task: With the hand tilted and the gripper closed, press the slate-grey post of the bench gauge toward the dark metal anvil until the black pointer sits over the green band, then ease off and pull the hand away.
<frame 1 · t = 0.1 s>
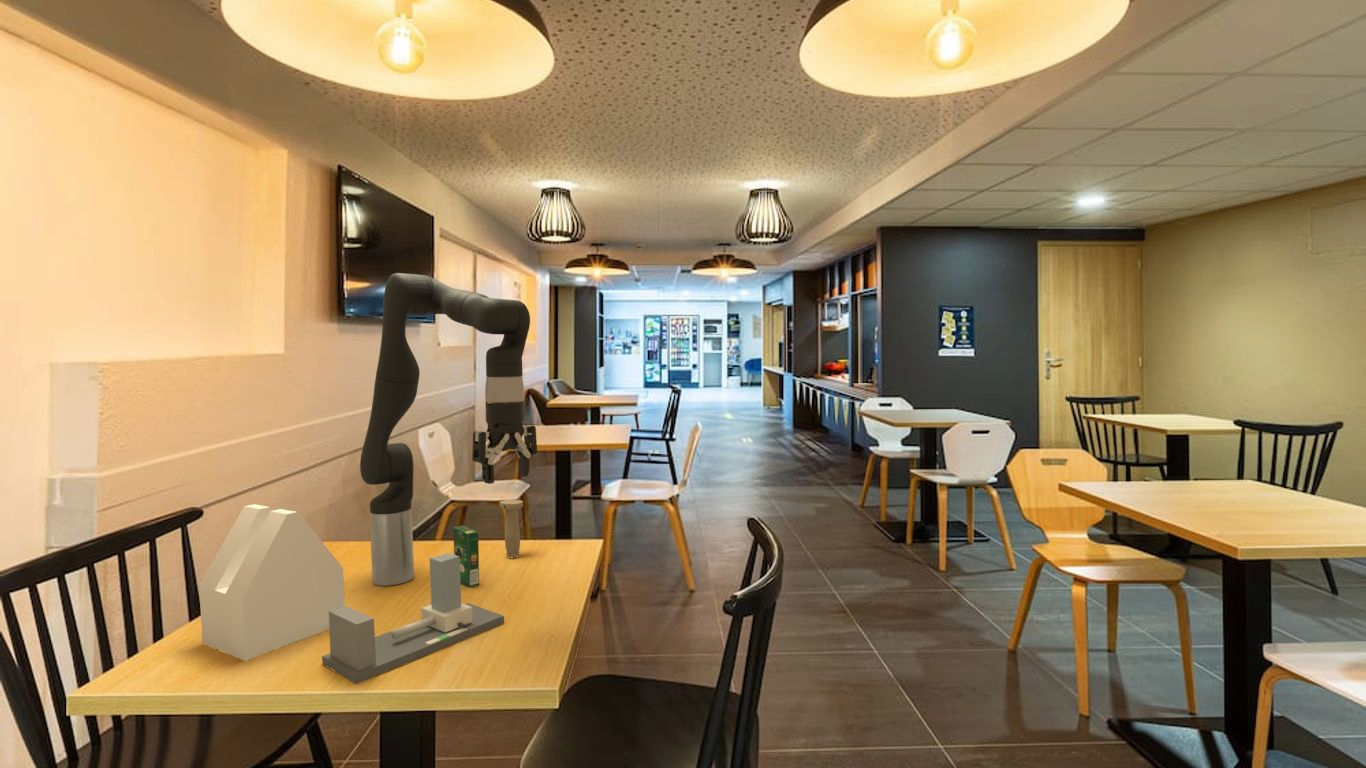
hand: (506, 479, 132), 29 cm above the table, tool pointing down, fingers open, 8 cm apart
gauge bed: (419, 642, 125), on the table
coffee box: (467, 583, 158), on the table
handle: (513, 557, 177), on the table
white house-shaped block: (276, 634, 131), on the table
gauge slider: (430, 597, 126), point 8 cm above the table, slide at 0.0 cm
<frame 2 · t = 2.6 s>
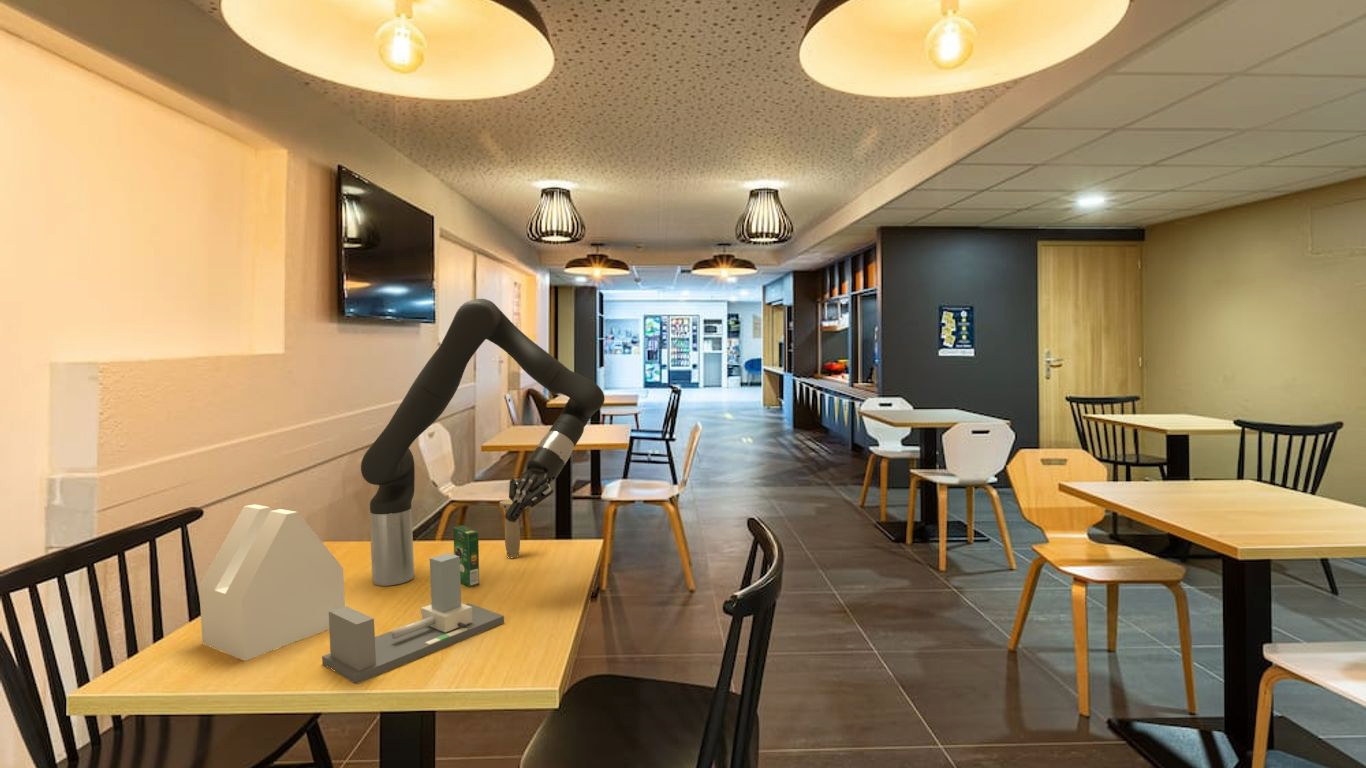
hand: (509, 519, 141), 19 cm above the table, tool tilted 45°, fingers closed
nothing on the table moved.
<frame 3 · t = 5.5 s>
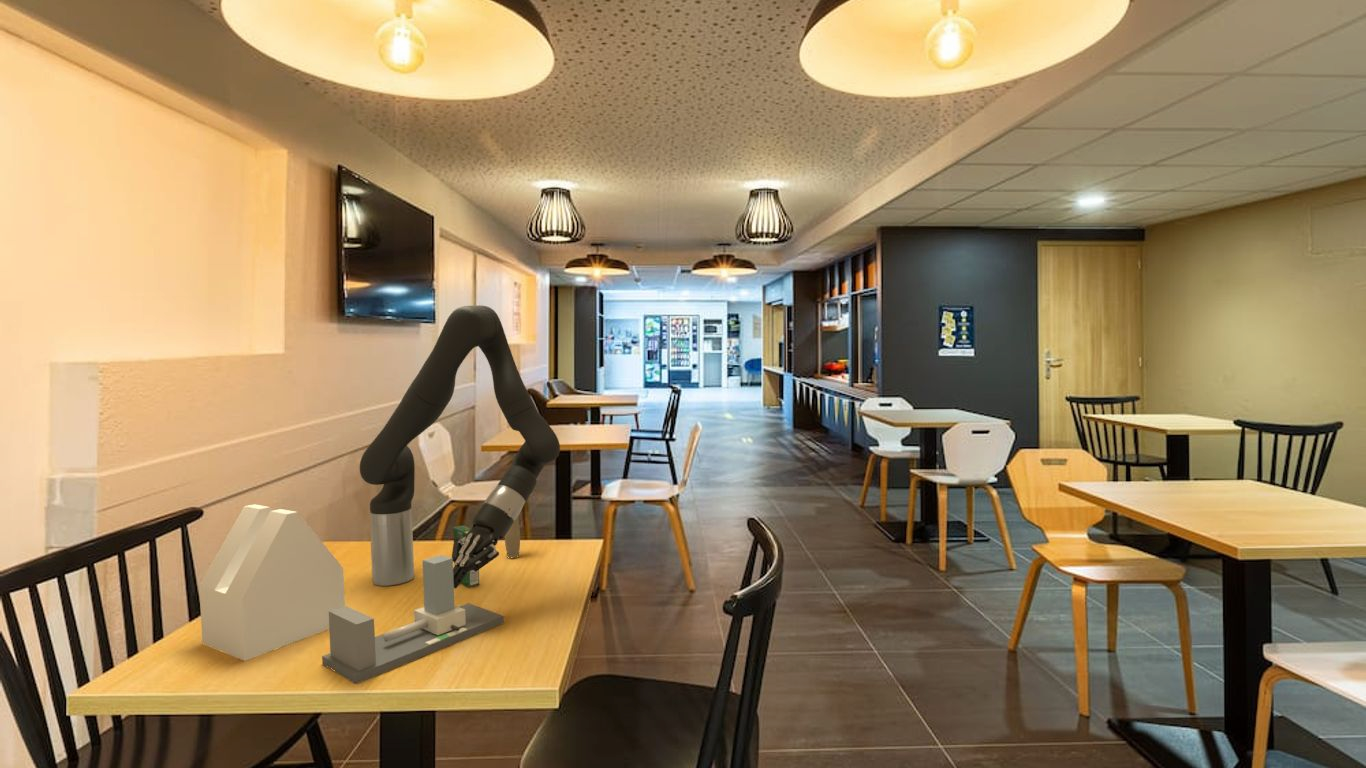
hand: (450, 585, 130), 9 cm above the table, tool tilted 45°, fingers closed
gauge slider: (422, 599, 124), point 8 cm above the table, slide at 1.5 cm, touching gripper
everything else where it was.
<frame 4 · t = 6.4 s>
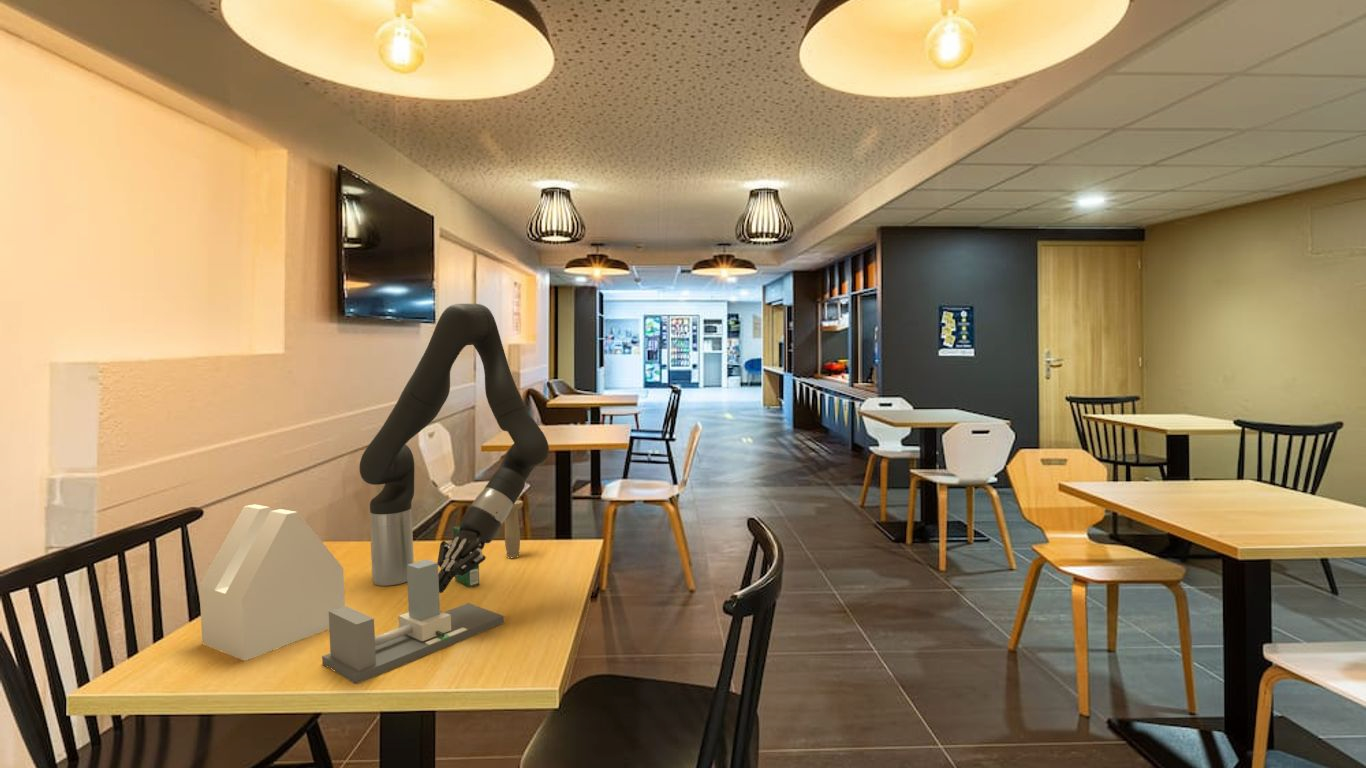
hand: (435, 590, 128), 9 cm above the table, tool tilted 45°, fingers closed
gauge slider: (407, 605, 122), point 8 cm above the table, slide at 4.7 cm, touching gripper
everything else where it was.
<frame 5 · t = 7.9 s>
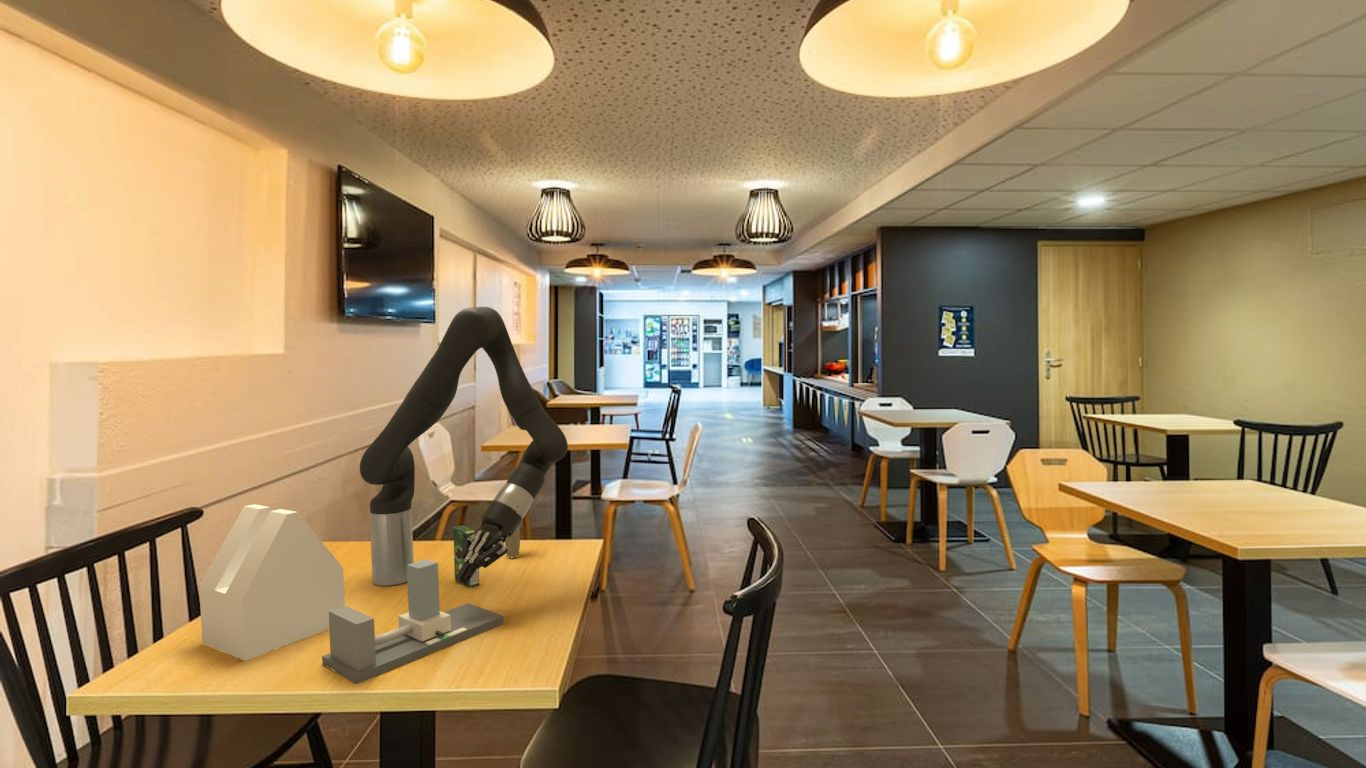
hand: (460, 582, 132), 9 cm above the table, tool tilted 45°, fingers closed
gauge slider: (406, 605, 122), point 8 cm above the table, slide at 4.7 cm
everything else where it was.
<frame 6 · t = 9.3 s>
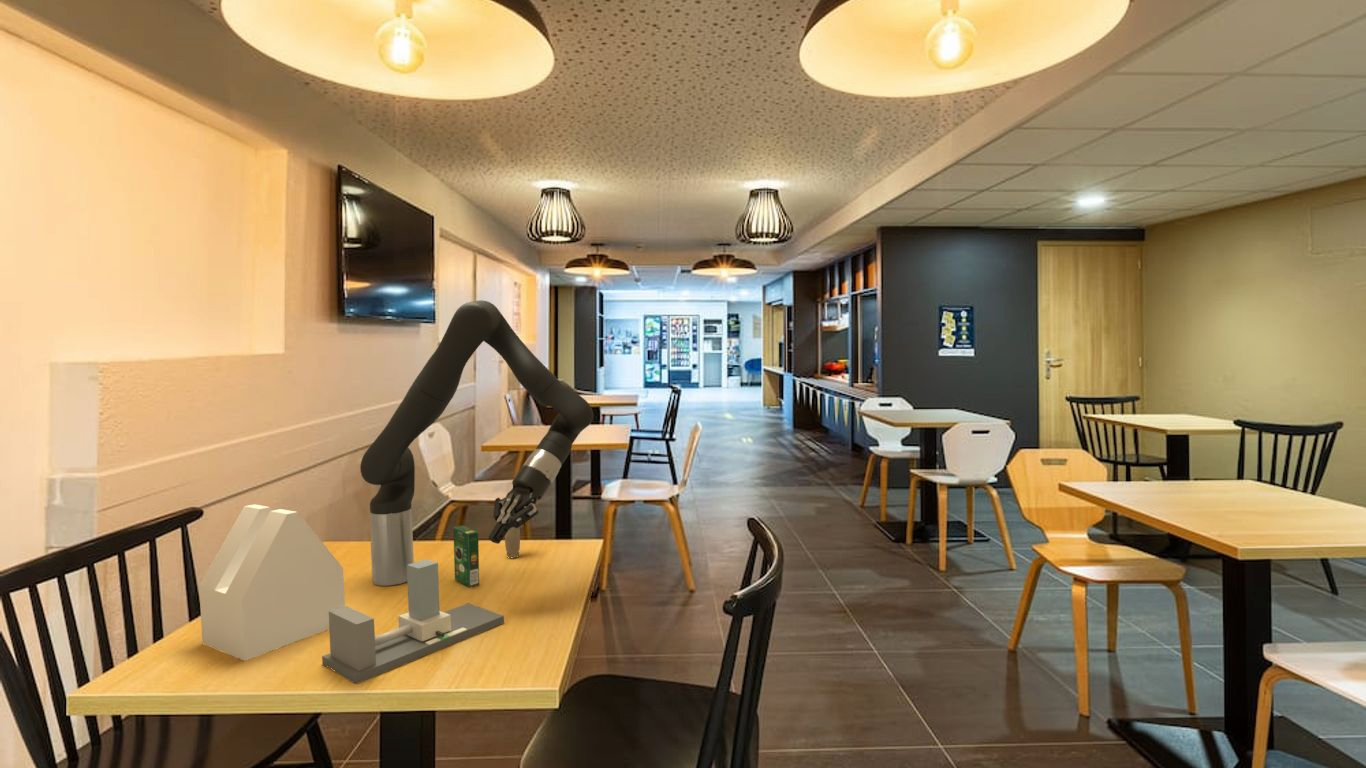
hand: (493, 541, 138), 15 cm above the table, tool tilted 45°, fingers closed
nothing on the table moved.
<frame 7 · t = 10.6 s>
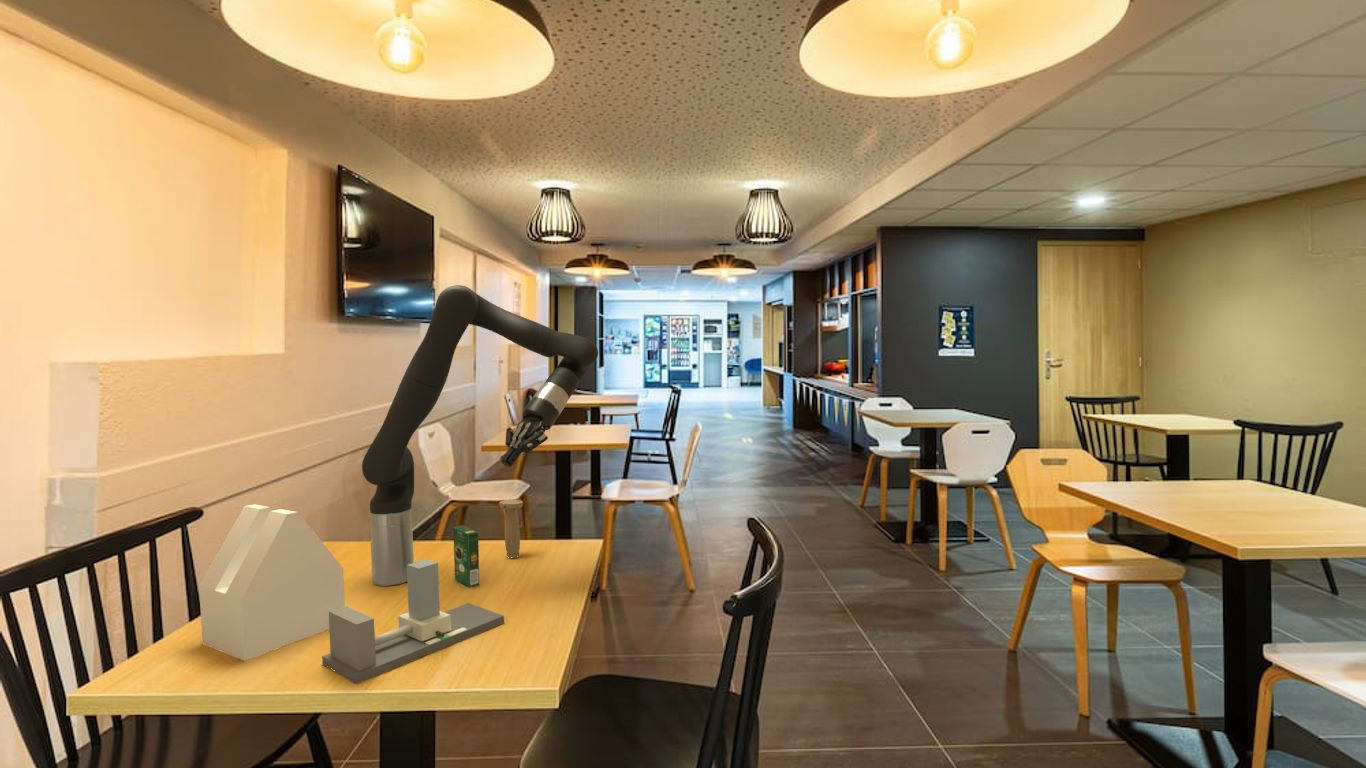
hand: (505, 464, 148), 30 cm above the table, tool tilted 45°, fingers closed
nothing on the table moved.
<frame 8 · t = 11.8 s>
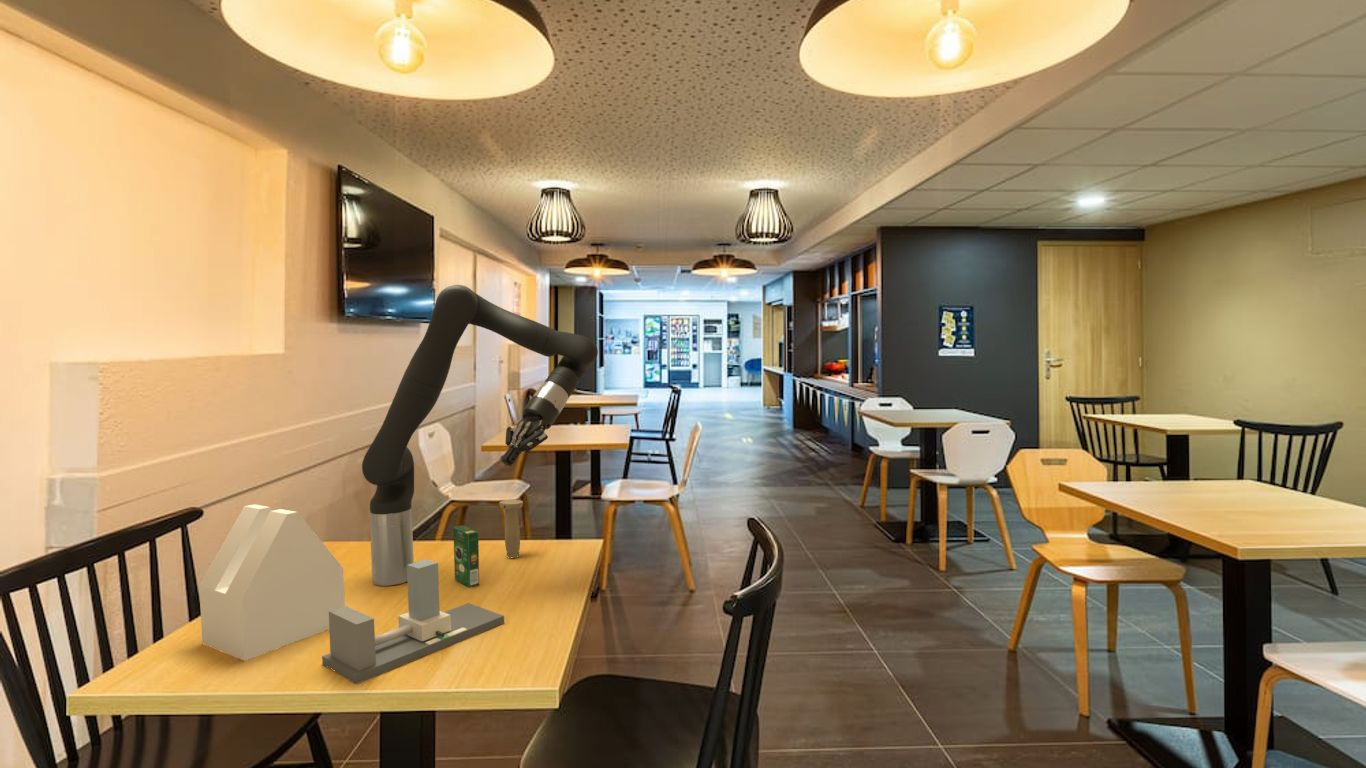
hand: (505, 463, 148), 30 cm above the table, tool tilted 45°, fingers closed
nothing on the table moved.
at the end: gauge slider slide at 4.7 cm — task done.
